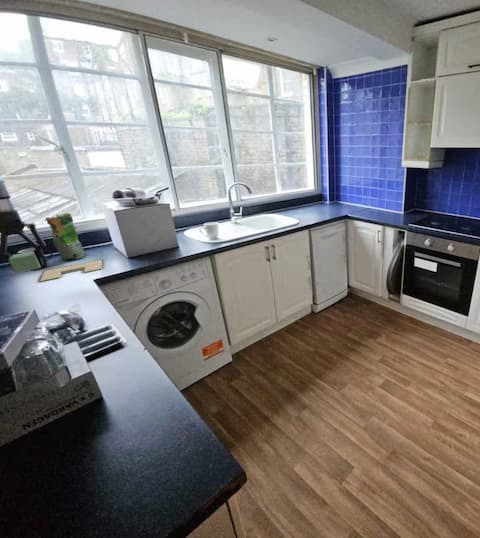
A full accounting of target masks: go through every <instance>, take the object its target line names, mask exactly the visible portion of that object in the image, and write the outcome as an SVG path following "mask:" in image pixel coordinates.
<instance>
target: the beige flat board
mask: <svg viewBox="0 0 480 538" xmlns="http://www.w3.org/2000/svg"><path fill="white" fill-rule="evenodd" d="M82 269H83V273H84V274H89V273H93V272H97V271H102V269H103V261H102V259H100V260H94V261H89V262H83V263H79V264H78V263H77V264H74V265H68V266H63V267H58V268H57V267H56V268H53V269H48V270H44V272H43V273H42V276H41V277H40V279H39V283H44V282H50V281H54V280H60V279H61V278H62V275H63V274H68V273H72V271H73V272H77V270H78V271H82Z"/></svg>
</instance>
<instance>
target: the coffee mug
mask: <svg viewBox="0 0 480 538" xmlns="http://www.w3.org/2000/svg"><path fill="white" fill-rule="evenodd" d="M34 250H35V248H34V247H29V248H25V249H20V250H19V251H17V254H21V253H28V252H34ZM41 250H42V252H43V254H44V253H48V254H50V256H49V257H48V258H47V259H46V258H45V254H44V256H43V257H41V258H42V260H43V262H44V265H43V266H41V267H40V268H38V269H32V270H31V271H39V270H43V269H46V268H47V267H48V263H47V262H48V261H49V260H51V258H52V257H53V253H52V252H51V251H49V250H44V249H43V248H42V249H41Z"/></svg>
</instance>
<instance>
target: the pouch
mask: <svg viewBox="0 0 480 538" xmlns="http://www.w3.org/2000/svg"><path fill="white" fill-rule="evenodd" d="M44 220H45V221H46V224H47V225H49V227H50V229H51V231H52V233H51V236H52V241H53V244H54V247H55V248H56V251H57V252H58V254H59V256H60V257H61V260H62V261H66V260H67V261H68V260H81V259H84V258H85V257H86V256H87V255H86V252H85V250H84V249H83V246H82V242H80V241H79V233H77V231H76V226H75V224H74V219H73V216H72V214H71V213H67V212H66V213H63V214H60V215H59V214H56V216H52V217H46V218H45V219H44Z"/></svg>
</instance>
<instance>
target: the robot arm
mask: <svg viewBox="0 0 480 538" xmlns="http://www.w3.org/2000/svg"><path fill="white" fill-rule="evenodd" d="M25 227H26V228H27V229H28V230H30V232H31V234H32V235H33V237H34V238H35V240H36V241H35V240H34V239H33V238H32V237H31V236H30V235H28V234H27V233H26V231H24V229H25ZM36 227H37V226H36V223H35V222H31V223H28V222H27V223H25V222H24V221H23V220H22V218H21V217H20V214H19V211H18V210H16V206H15V204H14V201H13V199H12V197H11V196H10V194H9V191H8V188H7V186H6V184H5V182H4V179H3V178H2V176H1V175H0V256H1V258H2V260H3V262H4V263H5V264H8V263H9V266H10V268H11V269H12V271H13V272H14V270H13V268H12V266H11V264H10V262H9V260H8V259H9V258H10V257H11V256H12V254H11V253H10V252H8V251H7V250H8V237H9V236H10V237H11V236H13V235H14V236H17V235H18V236H19V237H20V238H22V239H23V240H24V241H26V243H28V244H29V245H30V246H31V248H35V250H34V253H35V255H36V257H37V259H38V261H39V263H40V266H43V265H44V262H43V260H42V258H41V257H43V256H44V257H45V254H43V252H42V250H43V248H46V247H47V246H46V245H47V243H46V242H45V241H44V239H43V237H42V236H41V234H40V233H39V232H38V230H37V228H36ZM41 249H42V250H41Z"/></svg>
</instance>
